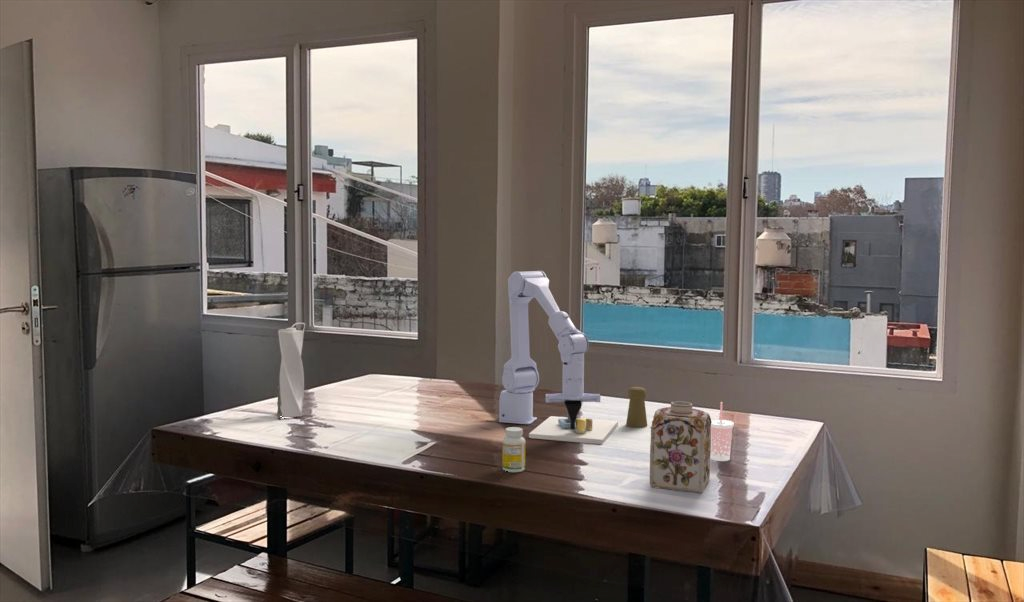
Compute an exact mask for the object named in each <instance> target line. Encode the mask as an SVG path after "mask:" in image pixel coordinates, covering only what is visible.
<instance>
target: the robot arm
mask: <svg viewBox="0 0 1024 602" xmlns="http://www.w3.org/2000/svg"><path fill="white" fill-rule="evenodd" d="M549 286H550V279H549V278H548V277H547V275H546V273H545V271H543V270H534V271H533V270H530V271H513V272H512V273H511V274H510V276H509V277H508V278H507V288H508V290H507V291H508V292H507V293H508V295H507V296H508V301H509V302H508V303H509V305H508V306H509V326H510V328H509V330H510V333H509V334H510V354H511V355H510V357H511V358H510V359H509V360H507V361H506V362H505V363H504V364H503V372H502V375H501V382H502V386H503V388H504V389H503V390H501V391H500V395H499V399H498V400H499V401H498V402H499V407H498V408H499V409H498V411H499V415H498V416H499V417H498V418H499V419H498V422H499V423H508V424H519V425H531V424H532V423H534V422H535V421H536V420H537V419H538V417H536V416H533V415H534V414H533V411H534V409H533V408H534V399H533V398H534V391H536V388H537V386H538V385H539V382H540V374H539V371H538V368H537V367H538V366H537V365H538V364H537V362H535V360H533V359H532V358H531V353H530V352H531V351H530V328H529V327H530V326H529V325H530V324H529V321H530V320H529V303H530V302H531V300H533V299H536V301H537V302H538V304H539V305H540V307H542V310H544V312H545V313H546V315H547V316H548V320H547V321H548V322H547V323H548V325H549V328H551V330H552V333H553V334H554V335H555V337H556V339H557V340H558V344H557V349H558V352H559V354H560V360H561V362H562V378H561V379H562V381H561V383H562V386H561V387H562V391H561V392H559V393H545V403H546V404H547V403H564V405H565V408H566V409H567V410H566V411H567V412H568V413H569V416H570V428H571V429H575V420H576V417H577V414H578V415H579V412H580V409H582V404H583V402H584V403H588V402H589V403H591V402H592V403H593V402H594V403H595V402H596V403H601V394H600V393H589V392H588V393H587V392H586V393H585V392H584V389H585V387H584V384H585V382H584V381H585V380H584V379H585V354H586V353H587V352H588V351H589V348H590V347H589V346H590V344H589V343H590V342H589V338H588V336H587V334H585V333H584V332H583V331H582V332H581V331H580V330H579V329H578V328H576V326H575V324H574V323H573V321H572V320H571V318H570V316H569V314H568V313H567V312H565V311H562V310H560V307H559V306H558V304H557V302H556V300H555V298H554V296H553V294H552V292H551V290H550V288H549Z"/></svg>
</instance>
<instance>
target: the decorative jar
mask: <svg viewBox="0 0 1024 602" xmlns="http://www.w3.org/2000/svg"><path fill="white" fill-rule="evenodd" d="M711 420H712V418H711V416H710V414H709V413H708V412H706V411H704V410H701V409H697V408H693V403H691V402H689V401H679V400H677V401H671V402H670V407H668V406H667V407H663V408H662V407H661V408H658V409H657V410H655V411H654V415H653V419H652V421H651V422H652V423H651V426H650V428H649V429H650V445H649V446H650V447H649V448H650V449H649V486H650V488H655V487H659V488H658V489H663V488H667V489H666V490H671V489H674V490H673V491H679V490H682V491H681V492H688V491H690V492H691V493H697V492H698V494H701V493H703V492H704V490H705V488H706V485H707V484H708V481H709V479H710V478H711V477H710V473H711V472H710V471H711V458H710V455H711V423H712V421H711ZM690 492H689V493H690Z"/></svg>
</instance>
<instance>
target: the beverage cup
mask: <svg viewBox="0 0 1024 602" xmlns="http://www.w3.org/2000/svg"><path fill="white" fill-rule="evenodd" d="M719 405H720V406H719V409H720V412H719V416H720V417H719V419H711V421H712V423H711V455H710V460H713V461H718V462H728V461H730V459H731V449H732V447H731V446H732V435H733V428H734V425H735V424H734V422H733V421H731V420H728V419H727V420H726V419H723V401H720V404H719Z"/></svg>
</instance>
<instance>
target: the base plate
mask: <svg viewBox="0 0 1024 602" xmlns="http://www.w3.org/2000/svg"><path fill="white" fill-rule="evenodd" d="M563 418H567V417H566V416H554V415H550V416H549V417H548V418H546V419H545V420H544V421H543V422H541V423H540V424H539V425H538V426H537V427H535V428H534V429H532V430H531V431H530V432H529V433H528V439H534V440H535V439H536V440H537V439H538V440H548V441H549V440H550V441H560V442H571V443H572V442H573V443H581V444H582V443H585V444H597V445H604V443H605V442H606V441H607V440H608V438H609V437H610V436H611V435H612V433H613V432H614V431H615V430H616V428H617V427H618V426H619V420H609V419H608V420H607V419H593V418H592V419H593V421H592V431H586V433H576V432H575V431H574V430H573V429H571V428H563V427H562V426H561V425H560V424H559V423H558V419H563Z"/></svg>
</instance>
